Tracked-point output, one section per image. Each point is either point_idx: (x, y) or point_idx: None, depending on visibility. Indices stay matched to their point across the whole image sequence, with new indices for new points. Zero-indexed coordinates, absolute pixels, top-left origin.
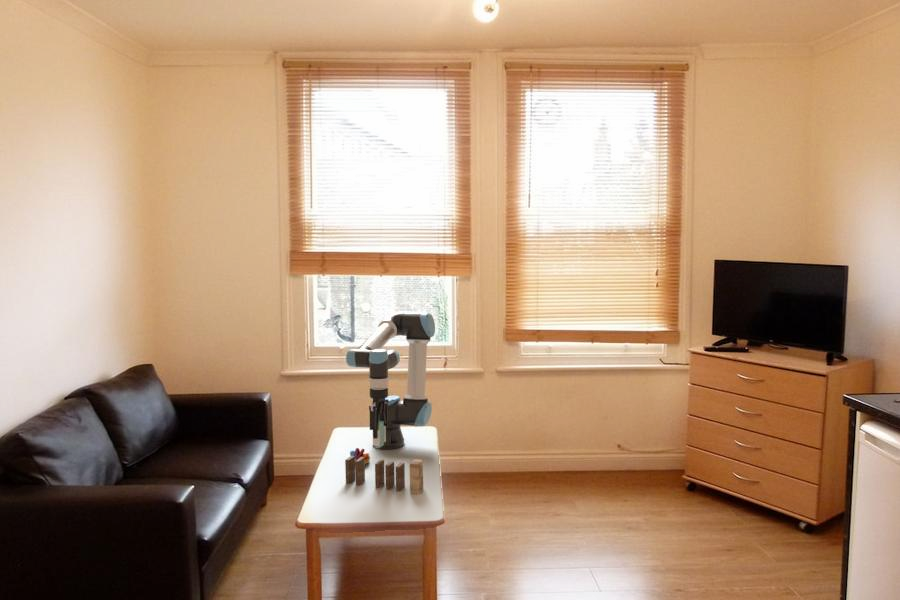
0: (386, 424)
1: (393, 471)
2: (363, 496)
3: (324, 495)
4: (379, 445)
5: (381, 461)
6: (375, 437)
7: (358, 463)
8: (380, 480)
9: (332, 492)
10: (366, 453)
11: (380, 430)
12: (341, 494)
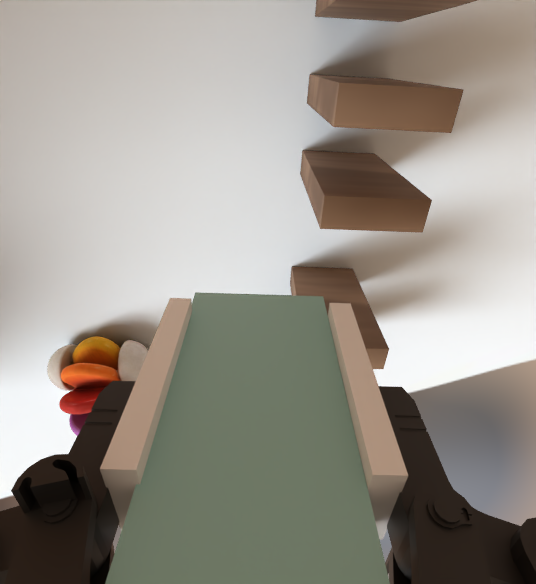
0: (65, 491)
1: (342, 79)
2: (486, 192)
3: (473, 348)
4: (335, 304)
5: (362, 204)
6: (411, 406)
7: (384, 341)
8: (365, 162)
9: (442, 335)
10: (69, 379)
11: (279, 452)
12: (462, 296)
